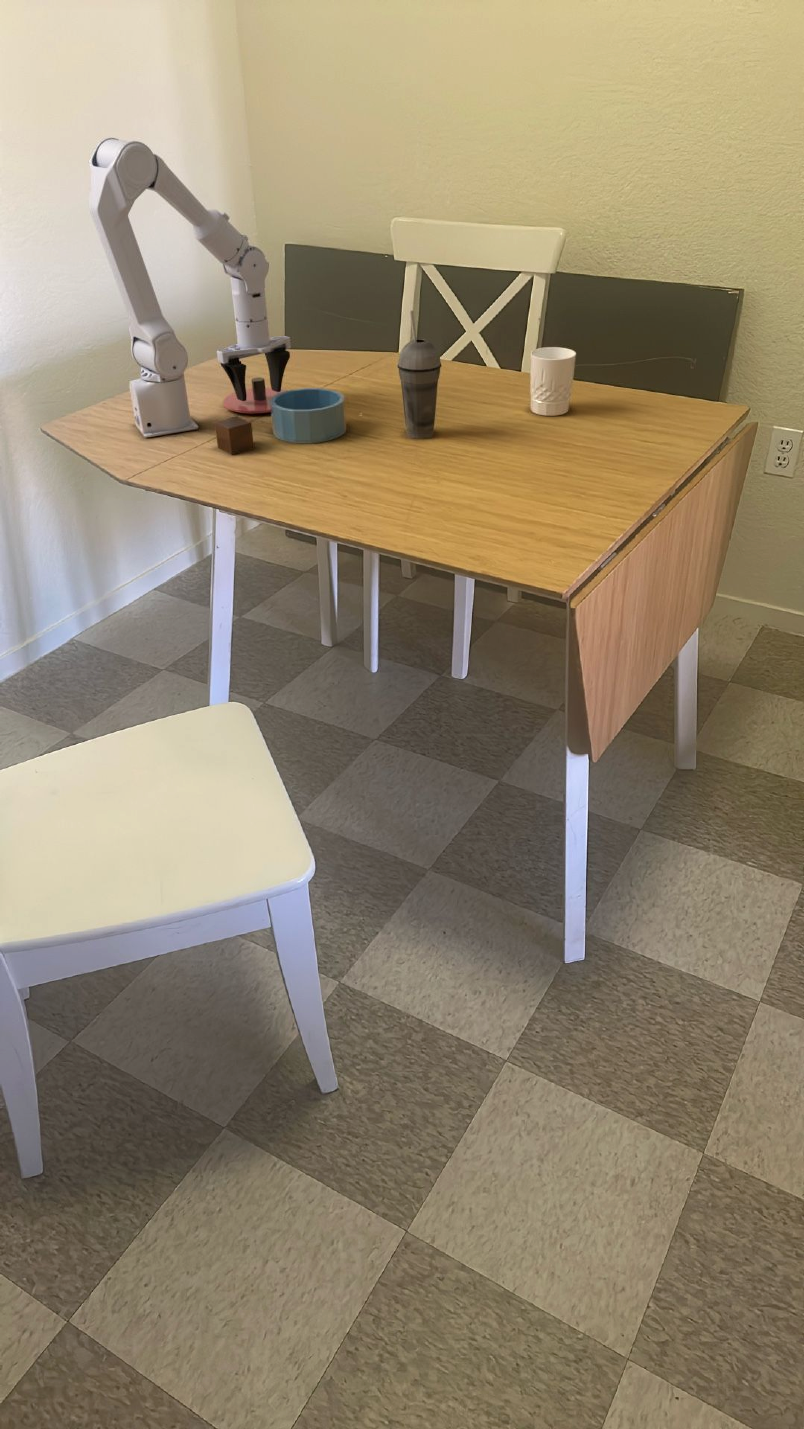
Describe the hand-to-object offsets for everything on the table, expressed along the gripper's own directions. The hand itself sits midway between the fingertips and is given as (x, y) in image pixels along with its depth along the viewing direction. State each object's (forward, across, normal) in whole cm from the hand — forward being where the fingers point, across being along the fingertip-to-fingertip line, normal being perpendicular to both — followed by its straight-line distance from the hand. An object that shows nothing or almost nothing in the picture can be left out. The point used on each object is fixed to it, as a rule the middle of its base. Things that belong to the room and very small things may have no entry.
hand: (259, 395), depth 181 cm
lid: (+1, 0, 0) cm, 1 cm away
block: (+2, -16, -16) cm, 23 cm away
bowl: (+2, -2, -18) cm, 18 cm away
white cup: (+2, +36, -40) cm, 54 cm away
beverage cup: (+2, +11, -33) cm, 35 cm away
